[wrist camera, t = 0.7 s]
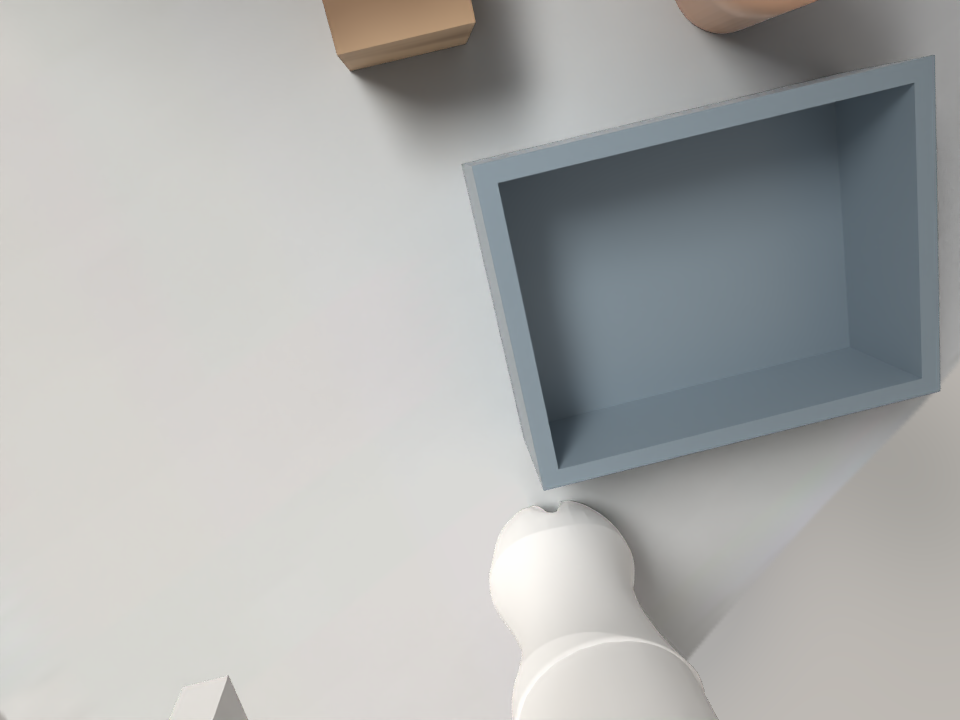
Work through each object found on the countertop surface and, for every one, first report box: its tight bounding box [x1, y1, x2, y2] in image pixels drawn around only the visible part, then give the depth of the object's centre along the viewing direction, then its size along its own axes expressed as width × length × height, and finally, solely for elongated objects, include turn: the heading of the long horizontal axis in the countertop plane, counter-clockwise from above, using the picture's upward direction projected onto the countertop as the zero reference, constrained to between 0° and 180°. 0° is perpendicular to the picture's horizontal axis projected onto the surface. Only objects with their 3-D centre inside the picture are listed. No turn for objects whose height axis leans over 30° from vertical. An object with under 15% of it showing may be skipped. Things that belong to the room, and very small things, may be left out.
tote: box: [462, 55, 940, 491], centre depth 29 cm, size 14×18×6 cm
